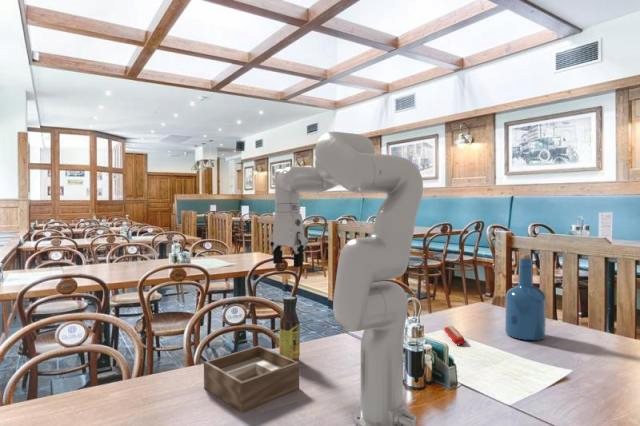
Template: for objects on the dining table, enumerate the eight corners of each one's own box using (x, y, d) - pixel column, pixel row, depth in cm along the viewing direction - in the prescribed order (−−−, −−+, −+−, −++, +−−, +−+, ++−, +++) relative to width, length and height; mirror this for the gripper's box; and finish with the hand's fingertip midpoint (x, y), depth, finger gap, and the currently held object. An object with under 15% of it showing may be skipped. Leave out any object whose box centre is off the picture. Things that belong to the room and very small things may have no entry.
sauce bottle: (296, 366, 125) (296, 300, 124) (276, 364, 126) (276, 300, 126) (302, 358, 132) (301, 295, 131) (283, 356, 133) (282, 295, 132)
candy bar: (443, 332, 158) (443, 324, 158) (453, 332, 158) (453, 324, 158) (455, 347, 142) (455, 338, 142) (466, 347, 142) (466, 338, 142)
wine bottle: (496, 333, 156) (497, 253, 155) (521, 328, 161) (522, 251, 160) (529, 344, 143) (530, 258, 142) (554, 339, 149) (556, 255, 148)
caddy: (299, 388, 111) (299, 362, 110) (241, 412, 98) (241, 383, 98) (259, 368, 123) (259, 345, 123) (204, 387, 111) (203, 362, 111)
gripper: (315, 209, 124) (316, 266, 124) (279, 208, 136) (279, 260, 137) (296, 210, 119) (297, 269, 119) (260, 209, 131) (261, 263, 131)
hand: (287, 264), depth 128 cm, fingers open, 9 cm apart
